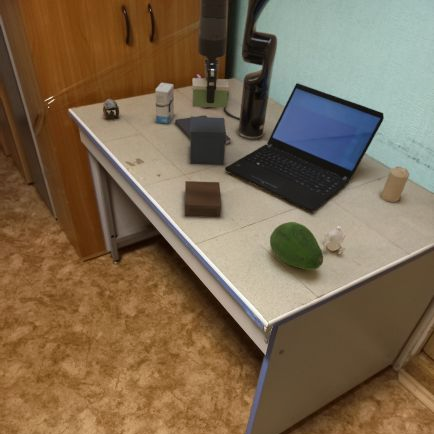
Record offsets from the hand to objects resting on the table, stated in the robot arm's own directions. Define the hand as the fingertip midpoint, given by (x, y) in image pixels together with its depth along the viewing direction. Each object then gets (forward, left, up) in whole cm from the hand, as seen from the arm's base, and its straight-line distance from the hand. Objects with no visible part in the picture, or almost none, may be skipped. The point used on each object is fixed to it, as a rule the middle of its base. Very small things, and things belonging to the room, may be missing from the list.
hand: (209, 97), depth 125 cm
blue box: (-4, 0, -21) cm, 21 cm away
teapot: (-48, +1, -21) cm, 53 cm away
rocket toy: (+44, +32, -21) cm, 58 cm away
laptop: (+4, +30, -21) cm, 37 cm away
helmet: (-31, -35, -21) cm, 52 cm away
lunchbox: (0, 0, -2) cm, 2 cm away
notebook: (-21, -1, -21) cm, 30 cm away
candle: (+18, +57, -21) cm, 63 cm away
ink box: (-32, -15, -21) cm, 42 cm away
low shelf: (+25, -2, -21) cm, 32 cm away
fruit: (+49, +21, -21) cm, 57 cm away
